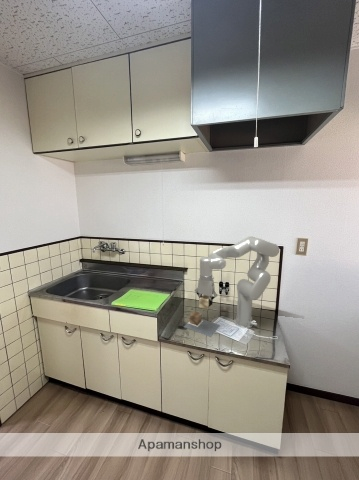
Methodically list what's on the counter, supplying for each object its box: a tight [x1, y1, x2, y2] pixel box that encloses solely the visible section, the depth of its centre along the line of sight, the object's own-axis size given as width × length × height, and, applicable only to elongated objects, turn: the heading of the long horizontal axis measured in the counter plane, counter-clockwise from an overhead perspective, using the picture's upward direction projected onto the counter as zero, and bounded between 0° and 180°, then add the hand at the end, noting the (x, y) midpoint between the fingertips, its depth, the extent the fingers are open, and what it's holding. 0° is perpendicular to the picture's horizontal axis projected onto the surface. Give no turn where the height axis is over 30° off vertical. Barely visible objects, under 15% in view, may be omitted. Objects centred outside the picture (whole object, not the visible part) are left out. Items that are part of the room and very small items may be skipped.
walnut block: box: [189, 310, 203, 326], centre depth 152 cm, size 6×6×6 cm
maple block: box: [198, 294, 213, 311], centre depth 139 cm, size 6×6×6 cm
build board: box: [183, 318, 221, 338], centre depth 149 cm, size 20×15×1 cm
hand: (205, 303), depth 139 cm, fingers closed on maple block, 5 cm apart
